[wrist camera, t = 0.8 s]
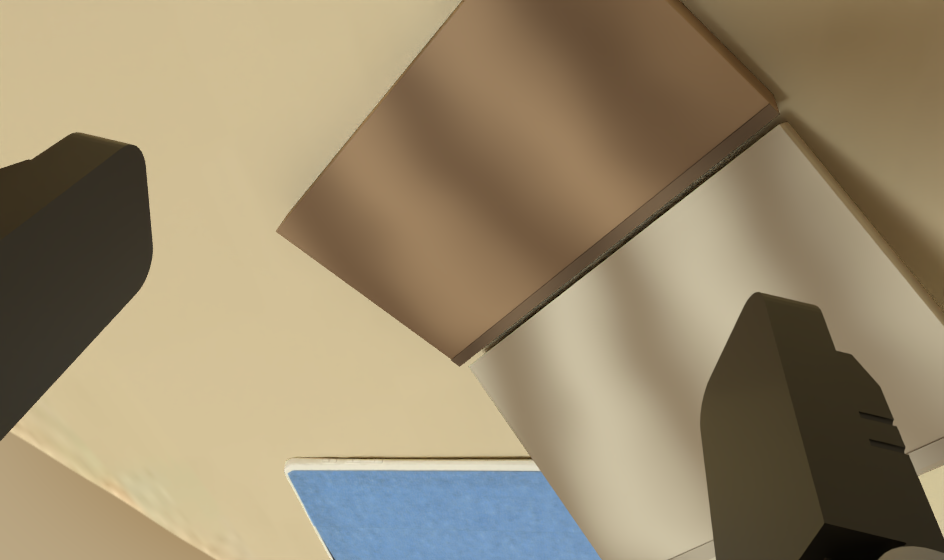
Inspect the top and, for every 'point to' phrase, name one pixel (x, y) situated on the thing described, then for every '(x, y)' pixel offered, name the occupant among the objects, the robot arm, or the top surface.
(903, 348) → the plank
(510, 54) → the laid board
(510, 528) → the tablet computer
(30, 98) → the top surface
